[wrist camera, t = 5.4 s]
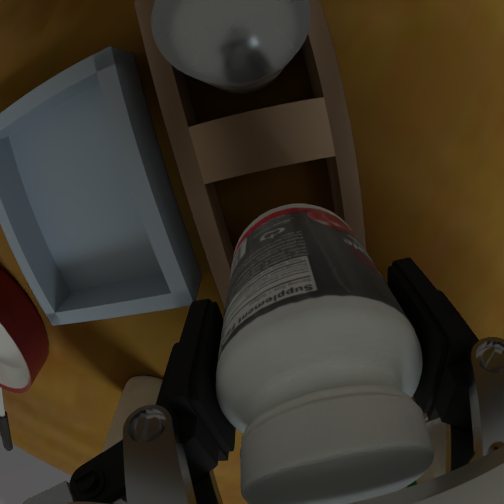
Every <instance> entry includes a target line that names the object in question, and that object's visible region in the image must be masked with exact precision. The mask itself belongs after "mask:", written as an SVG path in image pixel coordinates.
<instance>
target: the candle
mask: <svg viewBox="0 0 504 504" xmlns="http://www.w3.org/2000/svg"><path fill="white" fill-rule="evenodd" d="M162 381H163V380H162V379H160V378H156V377H152V376H145V375H143V376H135V377H132V378H131V379H129V380H128V382H127V383H126V385H125V387H124V390H123V392H122V395H121V398H120V401H119V404H118V406H117V409H116V412H115V415H114V418H113V421H112V424H111V426H110V429H109V432H108V435H107V438H106V441H105V445H104V448H103V451H102V452H104V451H105V450H107V449H109V448H110V447H112V446H113V445H115V444H116V443H118V442H119V441H121V440H122V439H123V426H124V423H125V421H126V419H127V418H128V416H129V415H130V414H131V413H132V412H134V411H135V410H136V409H138V408H140V407H143V406H146V405H156V401H157V398H158V394H159V391H160V388H161V384H162Z"/></svg>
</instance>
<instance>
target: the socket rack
mask: <svg viewBox="0 0 504 504" xmlns="http://www.w3.org/2000/svg"><path fill="white" fill-rule="evenodd" d="M309 2H310V7H311V23H310V28H309V32H308V35H307V37H306V39H305V42H304V43H303V45H302V46H301V48H302V52H303V56H304V60H305V64H306V68H307V72H308V76H309V80H310V84H311V89H312V93H313V97H314V98H312V99H306V100H300V101H294V102H289V103H284V104H278V105H273V106H269V107H264V108H259V109H255V110H250V111H246V112H242V113H237V114H233V115H229V116H225V117H222V118H218V119H214V120H210V121H207V122H203V123H199V124H198V123H197V119H196V115H195V112H194V108H193V104H192V101H191V97H190V93H189V90H188V86H187V82H186V78H185V75H184V73H183V72H181V71H179V70H178V69H177V68H175V67H174V66H173V65H171V64H170V63H169V62H168V61H167V60H166V59H165V58H164V56H163V55H162V53H161V52H160V51H159V49H158V47H157V45H156V43H155V40H154V37H153V33H152V27H151V16H152V10H153V6H154V3H155V0H136V1H134V5H135V9H136V14H137V18H138V22H139V27H140V31H141V35H142V39H143V43H144V47H145V51H146V55H147V59H148V63H149V67H150V71H151V75H152V78H153V82H154V86H155V90H156V93H157V97H158V101H159V104H160V108H161V112H162V115H163V119H164V122H165V126H166V129H167V133H168V136H169V140H170V143H171V147H172V150H173V153H174V157H175V160H176V163H177V167H178V170H179V173H180V177H181V180H182V183H183V186H184V190H185V193H186V196H187V199H188V202H189V205H190V209H191V212H192V215H193V218H194V221H195V224H196V227H197V230H198V233H199V236H200V239H201V242H202V245H203V248H204V251H205V254H206V257H207V260H208V263H209V266H210V269H211V272H212V275H213V278H214V281H215V283H216V286H217V289H218V292H219V295H220V298H221V300H222V303H223V306H224V309H225V307H226V300H227V294H228V288H229V281H230V275H231V267H232V262H233V257H234V249H233V246H232V243H231V239H230V236H229V232H228V229H227V225H226V222H225V218H224V215H223V212H222V208H221V205H220V201H219V198H218V194H217V191H216V187H215V184H214V182H216V181H220V180H224V179H228V178H232V177H236V176H240V175H245V174H249V173H253V172H258V171H262V170H267V169H271V168H276V167H281V166H286V165H291V164H295V163H300V162H306V161H311V160H316V159H321V158H326V162H327V168H328V174H329V180H330V186H331V192H332V199H333V205H334V212H335V214H336V215H337V216H339V217H340V218H341V219H342V220H343V221H344V222H345V223H346V224H347V225H348V226H349V228H350V229H351V230H352V232H353V233H354V234H355V236H356V237H357V238H358V240H359V242H360V243H361V244H362V246H363V248H364V249H365V250H366V239H365V227H364V217H363V207H362V198H361V189H360V181H359V174H358V166H357V160H356V153H355V147H354V140H353V134H352V129H351V123H350V118H349V112H348V107H347V102H346V97H345V93H344V88H343V83H342V79H341V75H340V70H339V66H338V62H337V58H336V54H335V50H334V46H333V42H332V39H331V35H330V31H329V28H328V24H327V21H326V18H325V14H324V11H323V8H322V5H321V1H320V0H309Z"/></svg>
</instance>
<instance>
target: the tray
mask: <svg viewBox="0 0 504 504" xmlns="http://www.w3.org/2000/svg"><path fill="white" fill-rule="evenodd" d="M0 224H1V226H2V229H3V231H4V234H5V236H6V238H7V241H8V243H9V245H10V247H11V249H12V252H13V254H14V256H15V258H16V260H17V262H18V264H19V266H20V268H21V270H22V272H23V274H24V276H25V278H26V280H27V282H28V284H29V286H30V288H31V289H32V291H33V293H34V295H35V297H36V298H37V300H38V302H39V304H40V305H41V307H42V309H43V311H44V312H45V314H46V316H47V317H48V319H49V321H50V322H51V324H52V325H53V326H54V325H63V324H71V323H78V322H86V321H93V320H101V319H108V318H115V317H122V316H128V315H135V314H142V313H148V312H154V311H161V310H167V309H173V308H179V307H185V306H191V303H192V302H193V301H196V297H197V293H198V290H199V286H200V282H201V279H202V275H201V272H200V269H199V266H198V264H197V261H196V258H195V255H194V252H193V249H192V247H191V244H190V241H189V238H188V235H187V232H186V229H185V226H184V223H183V220H182V217H181V214H180V211H179V208H178V205H177V202H176V199H175V196H174V193H173V190H172V187H171V184H170V180H169V177H168V174H167V171H166V168H165V164H164V161H163V158H162V155H161V151H160V148H159V145H158V141H157V138H156V134H155V131H154V128H153V124H152V121H151V117H150V113H149V110H148V106H147V103H146V99H145V95H144V92H143V88H142V84H141V80H140V76H139V73H138V69H137V65H136V61H135V57H134V54H133V53H130V52H127V51H124V50H121V49H118V48H115V47H112V46H110V47H108V48H106V49H103V50H101V51H99V52H97V53H95V54H93V55H91V56H89V57H87V58H86V59H84V60H82V61H80V62H78V63H76V64H74V65H73V66H71V67H69V68H67V69H66V70H64V71H62V72H60V73H59V74H57V75H55V76H54V77H52V78H50V79H49V80H47V81H46V82H44V83H43V84H41V85H39V86H38V87H36V88H35V89H33V90H32V91H30V92H29V93H27V94H26V95H25V96H23V97H22V98H20V99H19V100H17V101H16V102H15V103H13V104H12V105H11V106H9V107H8V108H7V109H5V110H4V111H3V112H1V113H0Z"/></svg>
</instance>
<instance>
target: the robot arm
mask: <svg viewBox="0 0 504 504" xmlns="http://www.w3.org/2000/svg"><path fill="white" fill-rule="evenodd" d="M388 287H389V288H390V290H391V292H392V294H393V295H394V297H395V298H396V300H397V302H398V303H399V305H400V306H401V308H402V310H403V312H404V313H405V314H406V316H407V317H408V319H409V320H410V322H411V324H412V326H413V327H414V329H415V333H416V335H417V337H418V340H419V342H420V346H421V350H422V358H423V366H422V374H421V377H420V381H419V384H418V386H417V389H416V391H415V393H414V398H415V400H416V403H417V405H418V406H419V407H420V408H421V409H422V411H423V414H424V419H425V423H426V425H427V428H428V431H429V434H430V437H431V440H432V444H433V448H434V459H433V462H432V464H431V465H430V467H429V468H428V470H427V471H426V472H425V473H424V474H423V475H422V476H420V477H419V478H418V479H417V480H416V482H417V485H414V486H411V487H408V488H405V489H402V490H398V491H395V492H392V493H388V494H385V495H381V496H377V497H374V498H370V499H365V500H361V501H357V502H352V503H348V504H504V339H501V338H497V337H487V338H483V339H481V340H480V341H479V340H478V338H477V337H476V335H475V334H474V333H473V331H472V330H471V329H470V327H469V326H468V325H467V323H466V322H465V321H464V319H463V318H462V317H461V315H460V314H459V313H458V311H457V310H456V309H455V307H454V306H453V305H452V304H451V302H450V301H449V300H448V299H447V297H446V296H445V295H444V293H442V292H441V291H439V290H437V289H436V288H435V287H434V286H433V284H432V283H431V282H430V281H429V280H428V278H427V277H426V276H425V275H424V273H423V272H422V271H421V270H420V269H419V268H418V266H417V265H416V264H415V263H414V262H413V260H412V259H411V258H405V259H400V260H396V261H393V263H392V266H390V267H388ZM222 327H223V318H222V315H221V312H220V309H219V307H218V304H217V303H216V302H211V300H210V299H204V300H198V301H193V302H192V303H191V306H190V309H189V312H188V316H187V319H186V322H185V325H184V329H183V332H182V335H181V338H180V342H179V343H176V344H174V346H173V348H172V352H171V355H170V358H169V361H168V364H167V368H166V371H165V374H164V378H163V381H162V384H161V388H160V391H159V394H158V398H157V401H156V405H146V406H143V407H140V408H138V409H136V410H135V411H134V412H132V413H131V414H130V415H129V416H128V418H127V419H126V421H125V423H124V426H123V439H122V440H121V441H119V442H118V443H116V444H115V445H113V446H112V447H110V448H109V449H107V450H105V451H104V452H102V453H101V454H99V455H98V456H96V457H95V458H93V459H91V460H90V461H88V462H87V463H85V464H83V465H82V466H80V467H79V468H78V469H77V470H76V471H75V472H74V473H73V475H72V477H71V480H70V483H68V482H67V481H64V482H62V483H60V484H58V485H56V486H54V487H52V488H50V489H48V490H46V491H44V492H41V493H39V494H37V495H35V496H33V497H30V498H28V499H27V500H25V501H24V502H23V504H223V502H222V498H221V495H220V492H219V489H218V486H217V482H216V479H215V476H214V472H213V469H214V468H215V467H216V466H217V465H218V461H225V460H228V454H229V451H233V450H234V445H235V430H236V428H235V427H234V426H233V425H232V424H231V423H230V422H229V420H228V419H227V418H226V417H225V415H224V414H223V412H222V410H221V408H220V405H219V403H218V399H217V395H216V369H217V363H218V354H219V347H220V341H221V334H222Z"/></svg>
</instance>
